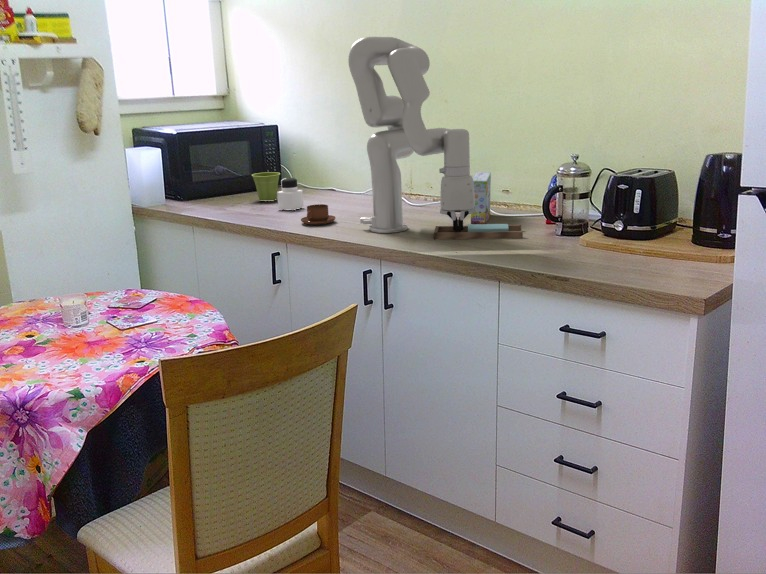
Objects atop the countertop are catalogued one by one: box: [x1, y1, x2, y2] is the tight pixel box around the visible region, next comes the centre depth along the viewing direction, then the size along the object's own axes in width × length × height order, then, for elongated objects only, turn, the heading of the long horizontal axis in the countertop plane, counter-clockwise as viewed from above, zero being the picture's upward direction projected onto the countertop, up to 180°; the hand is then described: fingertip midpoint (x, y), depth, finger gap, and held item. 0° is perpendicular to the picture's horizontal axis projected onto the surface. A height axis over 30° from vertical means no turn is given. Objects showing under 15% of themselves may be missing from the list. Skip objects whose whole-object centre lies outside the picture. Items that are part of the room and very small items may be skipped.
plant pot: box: [251, 171, 281, 201], centre depth 309 cm, size 12×12×11 cm
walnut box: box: [433, 224, 524, 240], centre depth 225 cm, size 26×10×3 cm, turn 83°
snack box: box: [470, 172, 492, 224], centre depth 249 cm, size 21×6×15 cm, turn 168°
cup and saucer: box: [300, 203, 336, 226], centre depth 258 cm, size 12×12×6 cm
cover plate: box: [467, 223, 509, 232], centre depth 224 cm, size 12×7×2 cm, turn 83°
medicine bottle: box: [277, 177, 305, 210], centre depth 287 cm, size 7×7×12 cm
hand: (458, 232), depth 225 cm, fingers closed
